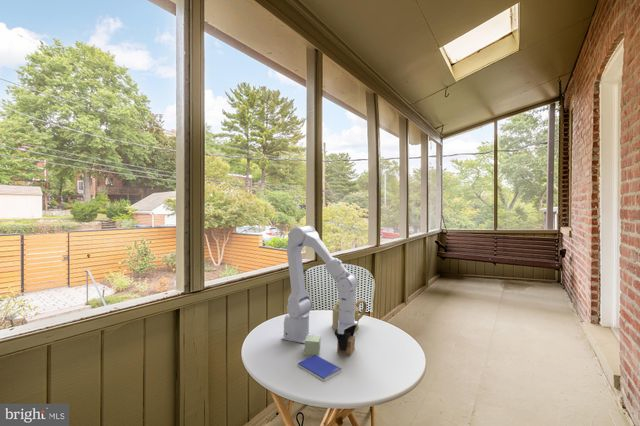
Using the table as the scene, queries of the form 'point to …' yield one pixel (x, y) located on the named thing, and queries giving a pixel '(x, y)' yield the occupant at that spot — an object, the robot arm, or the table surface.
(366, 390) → the table surface
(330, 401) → the table surface
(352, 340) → the walnut cube
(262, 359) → the table surface
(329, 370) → the hard drive
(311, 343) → the sage cube
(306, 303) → the robot arm
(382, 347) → the table surface
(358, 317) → the beige teapot
